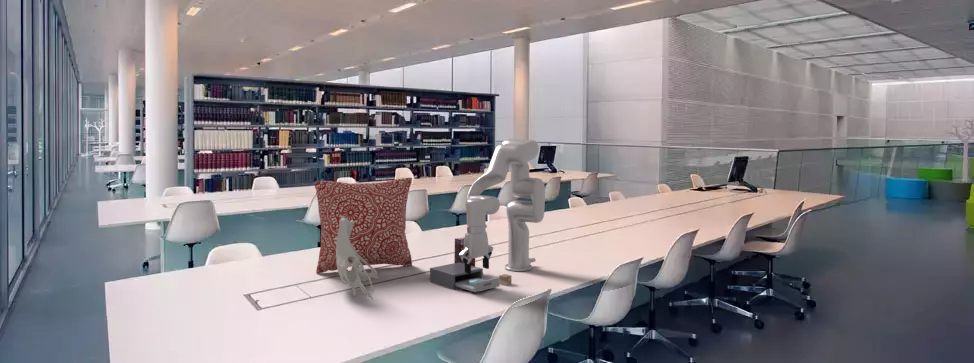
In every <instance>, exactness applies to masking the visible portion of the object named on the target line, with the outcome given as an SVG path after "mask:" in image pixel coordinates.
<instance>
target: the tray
mask: <svg viewBox="0 0 974 363" xmlns="http://www.w3.org/2000/svg"><path fill="white" fill-rule="evenodd" d="M473 279H482V278H479V277H478V278H473ZM469 280H470V279H468V280H464V281H459V282H455V286H457V287H460V289H463V290H467V291H469V292H472V293H477V292H482V291H485V290H489V289H493V288H497V287H500V284H499V277H492V278H490V279H489V278H488V279H485V278H483V279H482V280H484V281H480V282H476V283H474V286H470V285H469Z"/></svg>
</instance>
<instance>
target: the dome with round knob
mask: <svg viewBox="0 0 974 363" xmlns="http://www.w3.org/2000/svg"><path fill="white" fill-rule="evenodd" d="M480 281H484V280H482V279H470V280H469V285H470V286H474V283H476V282H480Z"/></svg>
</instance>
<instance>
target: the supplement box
mask: <svg viewBox="0 0 974 363" xmlns="http://www.w3.org/2000/svg"><path fill="white" fill-rule="evenodd" d="M464 238H465V236H463V237H456V238H454V262H453V263H458V262H460V263H463V261H462V260H461V258H460V256H459V254H460V253H461V252H462V251H463V250H464ZM464 257H465V256H464ZM468 259H469V258H468ZM464 264H465V263H464ZM470 264H471V266H475V267H476V258H473V259H472V260H471V262H470Z"/></svg>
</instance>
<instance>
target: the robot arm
mask: <svg viewBox="0 0 974 363" xmlns="http://www.w3.org/2000/svg"><path fill="white" fill-rule="evenodd" d="M539 149H540V147H539V144H538V142H537V141H536V140H534V139H517V138H512V139H506V140H503V141H502V143H501V144H499V145H497V146H496V147H495V149H494V151H493V153H492V156H491V159H490V162H489V165H488V168H487V170H486V172H485V173H483V174H482V175H481V176H479V177H478V178H477V179H476V180H475V181H474V182H473V183H472V184H471V186H470V188H469V190H468V193H467V195H466V199H465V203H464V204H465V210H466V233H465V234H464V237H465V238H464V237H463V238H464V250H463V251H462V252H461V253H460V254H459V256H460V258H461V260H462V261H463V263H465V273H468V274H471V264H470V262H471V260H472V259H473V258H475V259H477V258H482V269H486V270H489V269H490V260H491V256H492V254H493V250H494V247H493V246H491V245H489V237H488V234H487V230H486V229H487V227H488V225H487V224H486V216H488V215H489V216H490V215H495V214H496V213H498V211H499V209H500V208H501V203H500V200H499V199H498V197H496V196H491V195H481V194H482V193H483V192H484V191H485V190H487V189H488V188H492V187H493V186H496V185H499V184H501V183H503V182H505V180H506V178H507V175H508V172H509V169H510V185H509V186H510V187H509V188H510V194H511V196H512V197H515V198H520V199H531V201H530V200H529V201H528V200H511V201H510V202H509V203H508V204H507V206H506V208H505V209H506V218H507V224H508V227H507V229H508V246H507V247H508V251H507V252H508V256H507V257H508V258H507V259H508V260H507V264H505V265H504V269H505V270H507V271H511V272H526V271H527V272H529V271H531V270H532V269H533V266H532V264H531V263H535V262H536V258H535V257H532V258H531V257H530V230H529V228H528V225H527V223H532V224H538V223H541V222H542V221H543V220H544V217H545V206H546V204H545V203H546V202H545V200H546V188H545V183H544V181H543V180H542V179H541V178H538V177H530V166H529V163H528V162H531V161H533V160H534V159H536V157H537V156H538V155H539ZM464 256H465V257H464ZM468 258H469V259H468Z"/></svg>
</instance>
